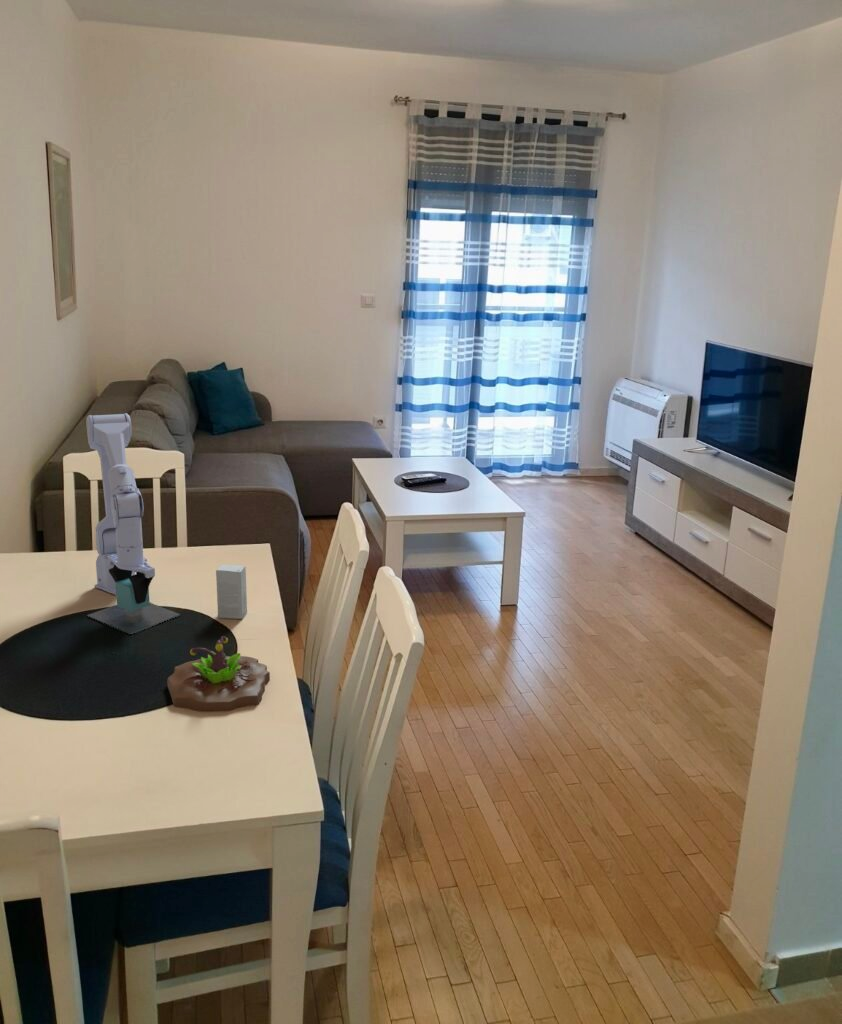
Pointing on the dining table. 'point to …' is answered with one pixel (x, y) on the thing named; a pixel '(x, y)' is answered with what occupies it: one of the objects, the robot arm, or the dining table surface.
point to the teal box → (128, 596)
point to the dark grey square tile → (133, 617)
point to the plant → (218, 681)
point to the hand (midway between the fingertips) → (133, 599)
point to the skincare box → (231, 591)
